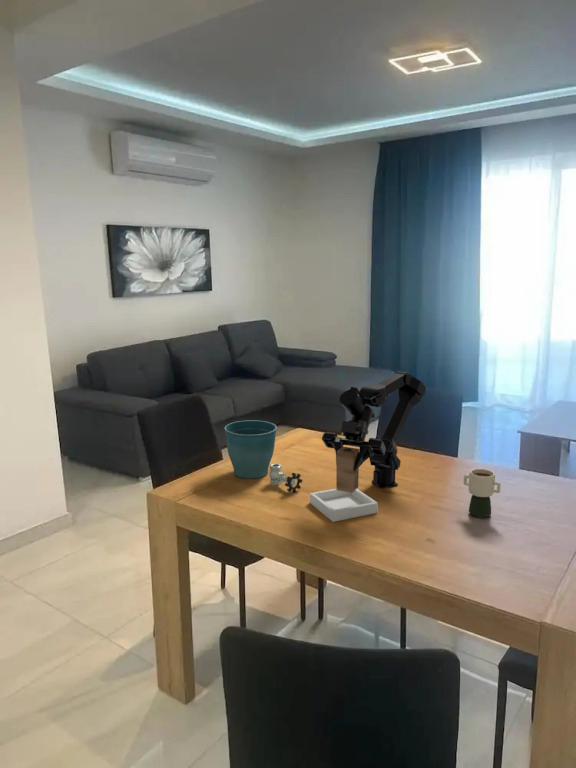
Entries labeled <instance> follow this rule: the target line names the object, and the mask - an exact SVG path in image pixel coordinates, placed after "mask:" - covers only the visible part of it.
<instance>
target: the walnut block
mask: <svg viewBox="0 0 576 768" xmlns="http://www.w3.org/2000/svg"><path fill="white" fill-rule="evenodd" d="M358 454H359V448H358V447H351V446H343V447H342V448H340V449H339V450H338V451H337V467H336V473H335V474H336V477H335V478H336V486H335V487H336V488H335V489H336V490H339V491H344V492H350V493H353V492H354V491H355V490H356V489H358V488H359V477H360V476H359V471H360V469H359V468H360V467H359V468H358V469H357V470H356V471H354V465H355V462H356V459H357V456H358Z"/></svg>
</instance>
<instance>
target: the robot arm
mask: <svg viewBox="0 0 576 768" xmlns="http://www.w3.org/2000/svg"><path fill="white" fill-rule="evenodd" d="M426 390H427V389H426V385H425V384H424V382H423V381H421V380H419V379H418V378H416V377H414V376H413V375H412V374H411V373H409V372H408V371H407V372H406V371H398V370H397V371H395V372H394V374H392V375H391V376H389V377H387V378H385V379H384V380H382V381H380V382H379V383H377V384H368V385H365V386H363V387H361V388H360V389H358V387H355V386H350V388H349V389H348V390H345V391H344V392H343V393H341V394H340V396H339V404H341V406H342V407H343V408H344V409H345V411H346V412H347V413H348V414H349V415H351V419H349V420H347V421H346V420H342V421H341V424H340V432H341V433H342V435H343V437H344V438H343V437H340V436H339V435H338V434H337V432H331V431H325V432H324V433H323V434H322V437H321V440H322V442H323V444H324V445H325V448H328V449H333V450H334V451H335V464H336V465H335V466H336V468H337V451H338V450H339V449H340V448H342V447H344V446H347V447H354V448H358V449H359V454H358V456H357V459H356V462H355V465H354V471H356V470H357V469H358V468H360V467H361V466H362V465H363V463H364V462H366V461H367V460H368V459H369V463H370V466H374V470H373V472H372V473H373V474H372V475H373V479H372V480H371V483H372V484H374V485H376V486H377V487H379V488H381V489H386V488H391V487H395V486H398V485H399V484H398V483H397V482H396V471H398V470H399V468H401V462H402V461H401V459H400V458H399V457H398V455H397V454H398V446H397V442H398V440H399V438H400V435H401V433H402V431H403V428H404V426H405V424H406V421H407V420H408V417H409V415H410V412H411V411H412V408H413V407H414V406H416V405H417V404H418V403H420V402H421V400H422V399H423V397H424V396H425V394H426ZM396 391H397V395H398V401H397V404H396V407H394V410H393V412H392V415H391V417H390V420H389V421H388V423H387V426H386V427H385V430H384V433H383V434H382V436H380V437H375V438H374V437H369V438H368V441H366V436H367V435H368V434H369V427H370V423H371V419H374V418H375V413H374V411H373V409H372V408H371V407H374V408H380V407H381V406H382V405H383V404H385V402H386V400H387V399H386V398H387V397H388V396H390V395H391V394H392V393H395V392H396Z"/></svg>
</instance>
